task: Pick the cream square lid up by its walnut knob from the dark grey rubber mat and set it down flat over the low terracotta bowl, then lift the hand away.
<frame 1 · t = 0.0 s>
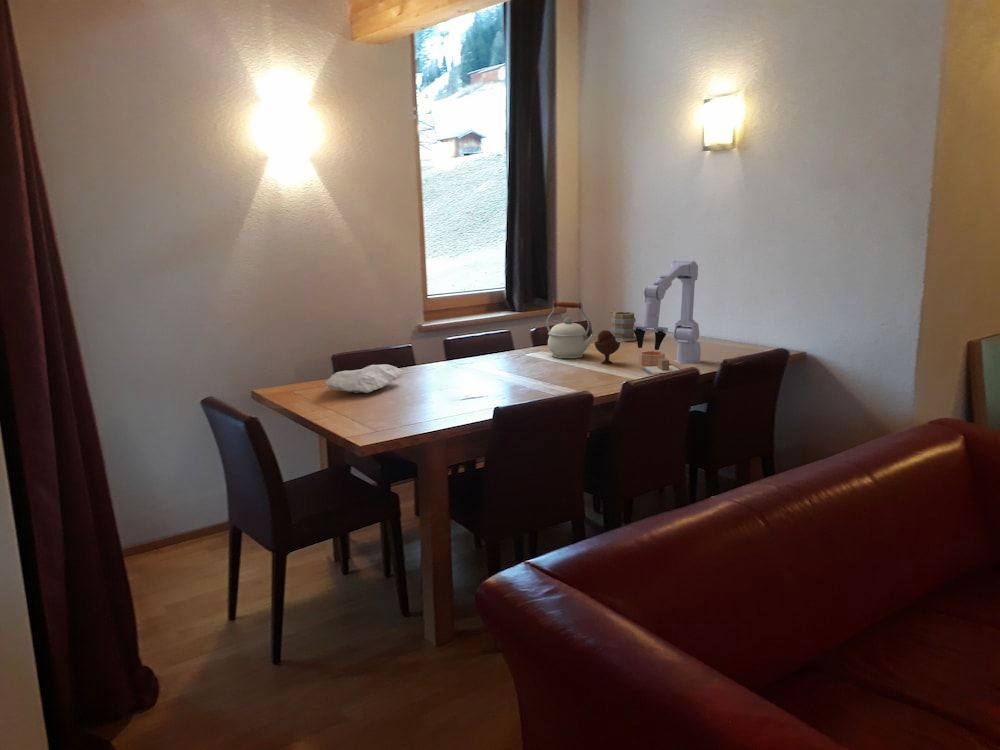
hand: (648, 349, 303), 11 cm above the table, tool pointing down, fingers open, 7 cm apart
crumpled cloth: (362, 390, 289), on the table
mat: (663, 371, 310), on the table
lid: (663, 370, 310), resting on mat
bowl: (651, 364, 324), on the table
kettle: (570, 356, 346), on the table
ice cream bowl: (607, 364, 327), on the table
tankard: (619, 339, 388), on the table
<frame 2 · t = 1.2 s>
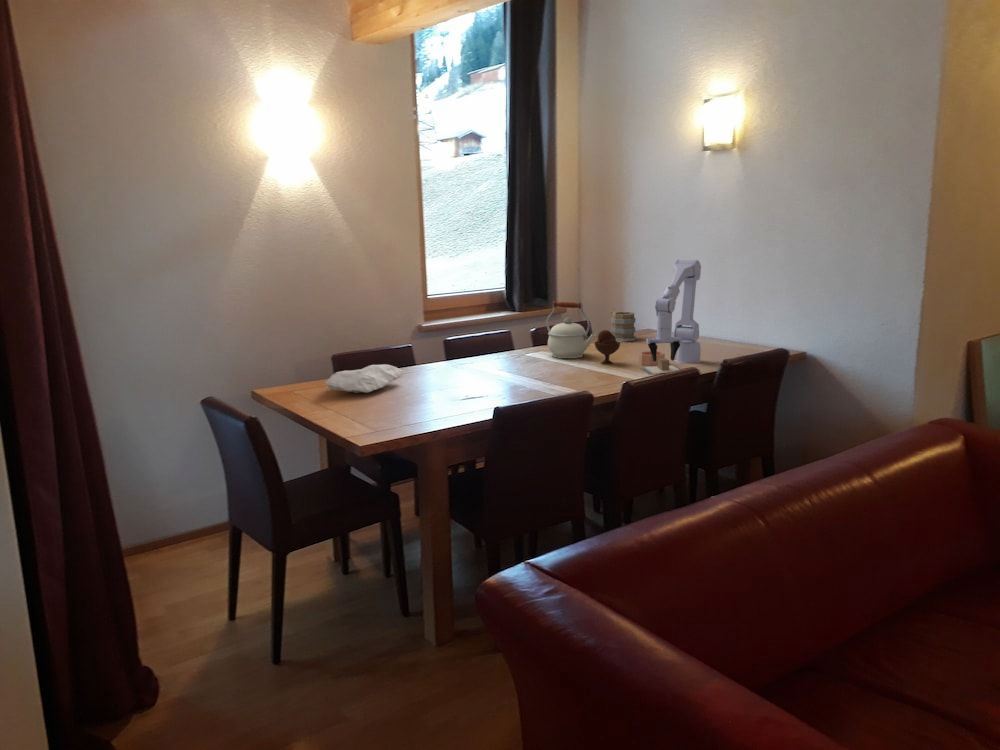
hand: (663, 360, 309), 5 cm above the table, tool pointing down, fingers open, 7 cm apart
nothing on the table moved.
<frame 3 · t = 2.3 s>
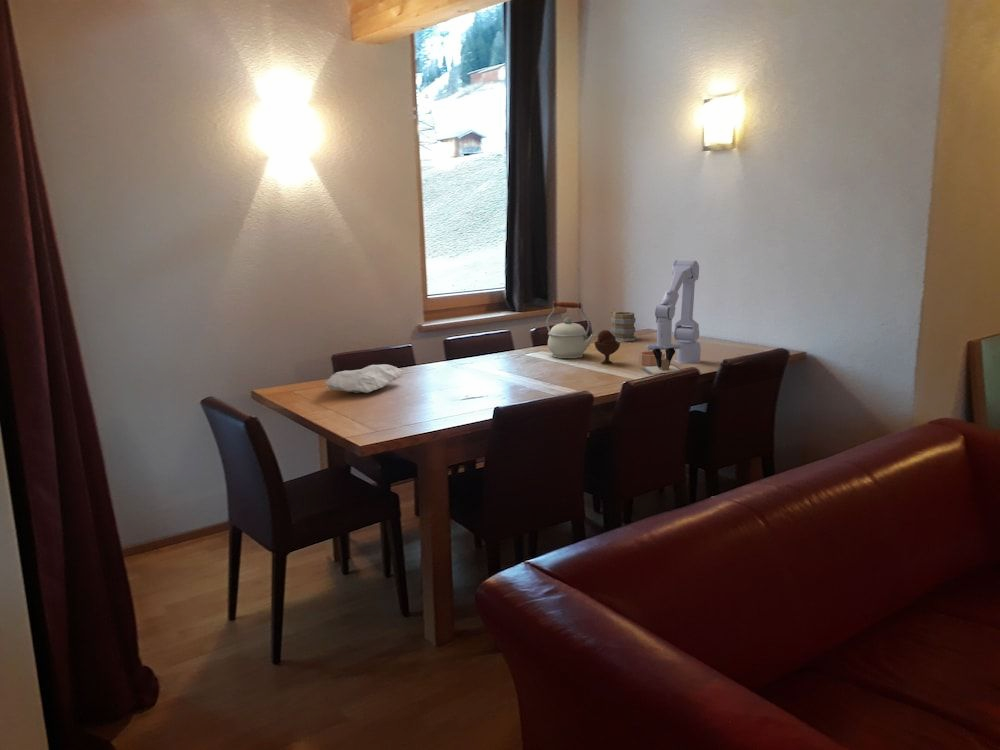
hand: (663, 366, 310), 2 cm above the table, tool pointing down, fingers closed on lid, 3 cm apart
lid: (663, 370, 310), resting on mat, touching gripper
everything else where it was.
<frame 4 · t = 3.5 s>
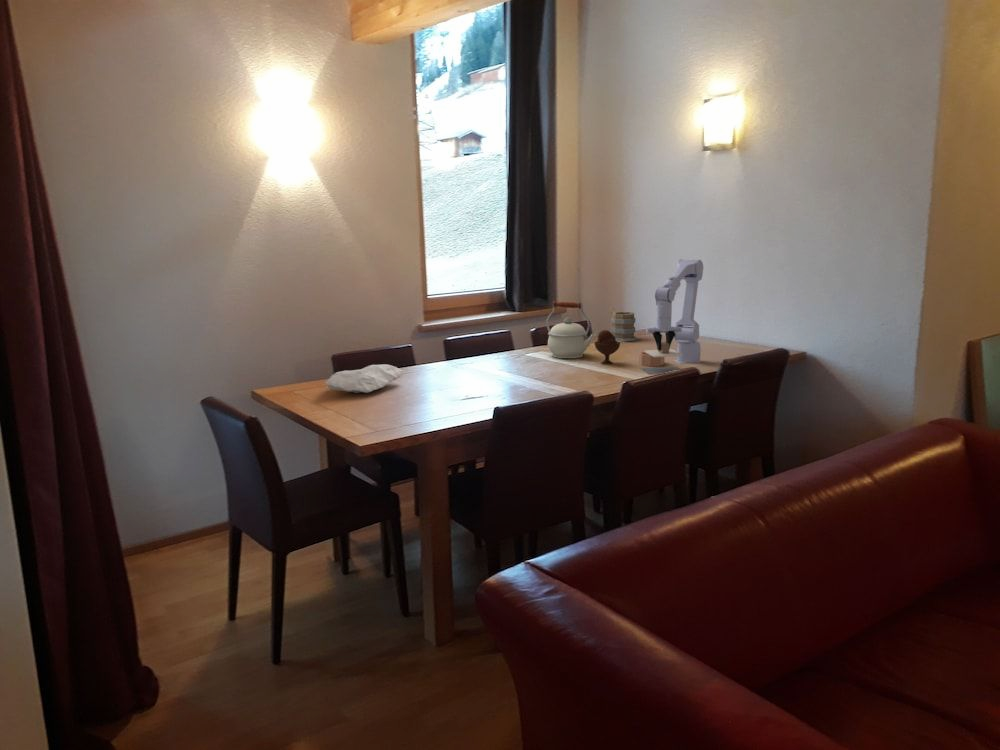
hand: (663, 349, 309), 9 cm above the table, tool pointing down, fingers closed on lid, 3 cm apart
lid: (663, 353, 309), point 7 cm above the table, touching gripper
everything else where it was.
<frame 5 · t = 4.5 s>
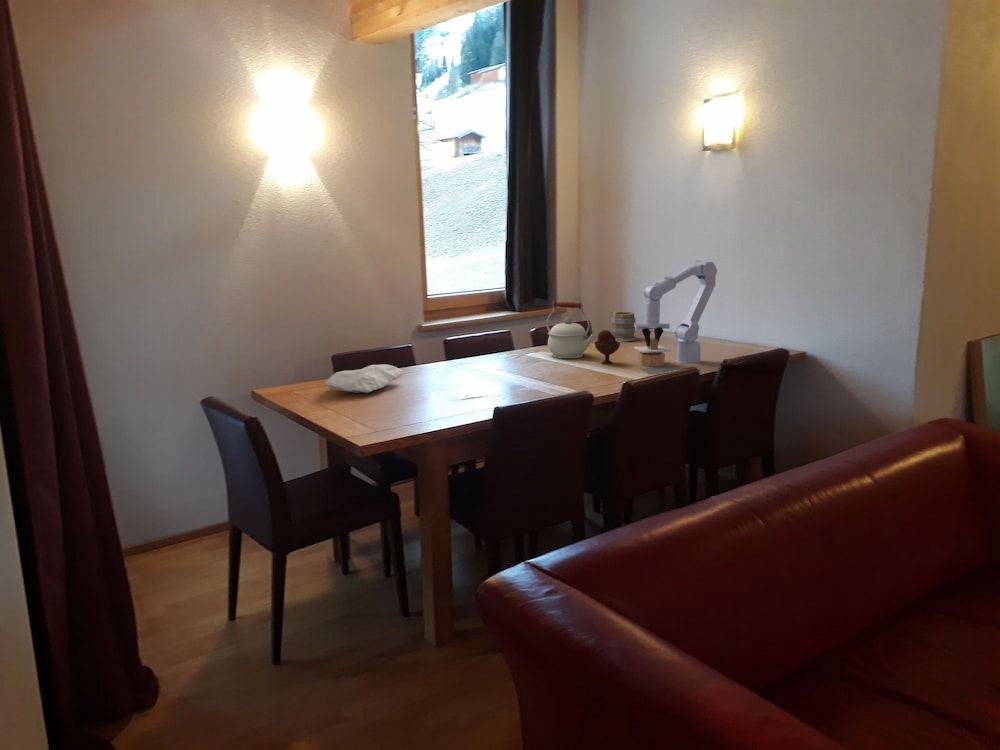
hand: (652, 345, 322), 8 cm above the table, tool pointing down, fingers closed on lid, 3 cm apart
lid: (652, 349, 322), point 7 cm above the table, touching gripper
everything else where it was.
when the fingers open (7 cm above the table, at t = 4.9 s): lid stays where it is, resting on bowl.
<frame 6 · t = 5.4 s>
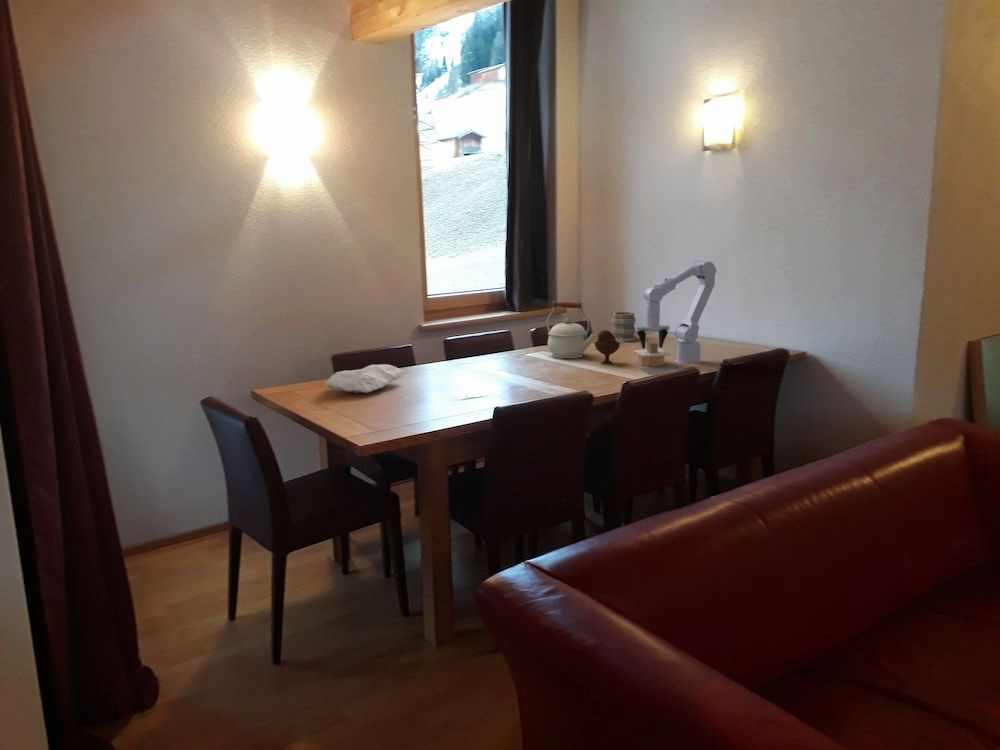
hand: (652, 347, 322), 7 cm above the table, tool pointing down, fingers open, 7 cm apart
lid: (652, 353, 323), point 5 cm above the table, touching bowl
everything else where it was.
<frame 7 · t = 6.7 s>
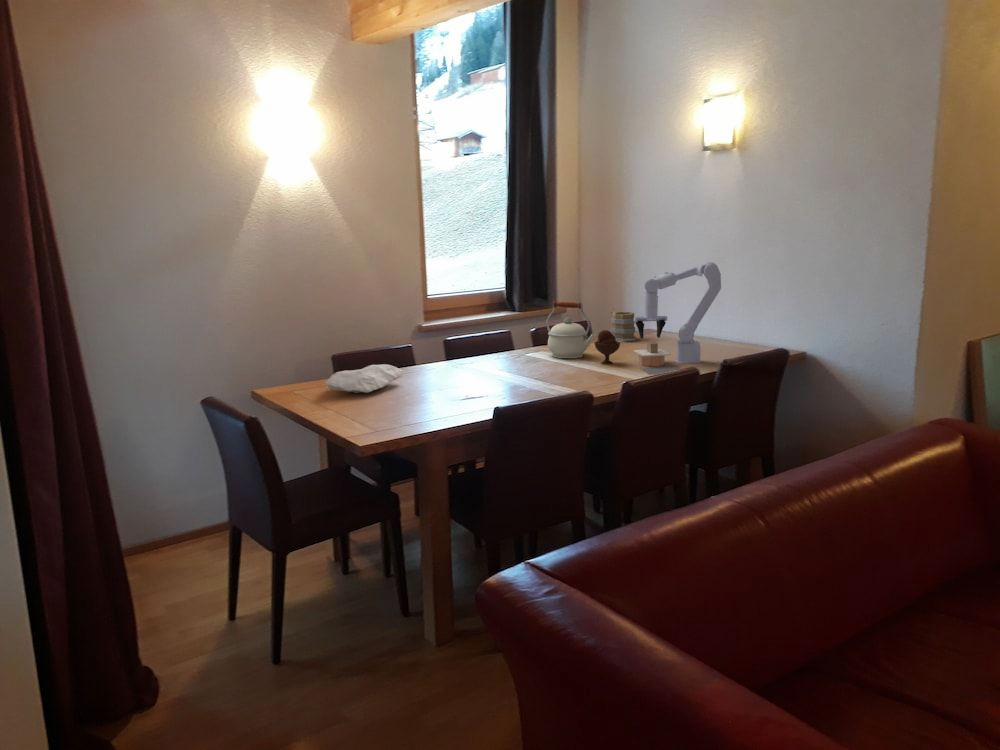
hand: (650, 337, 329), 10 cm above the table, tool pointing down, fingers open, 7 cm apart
nothing on the table moved.
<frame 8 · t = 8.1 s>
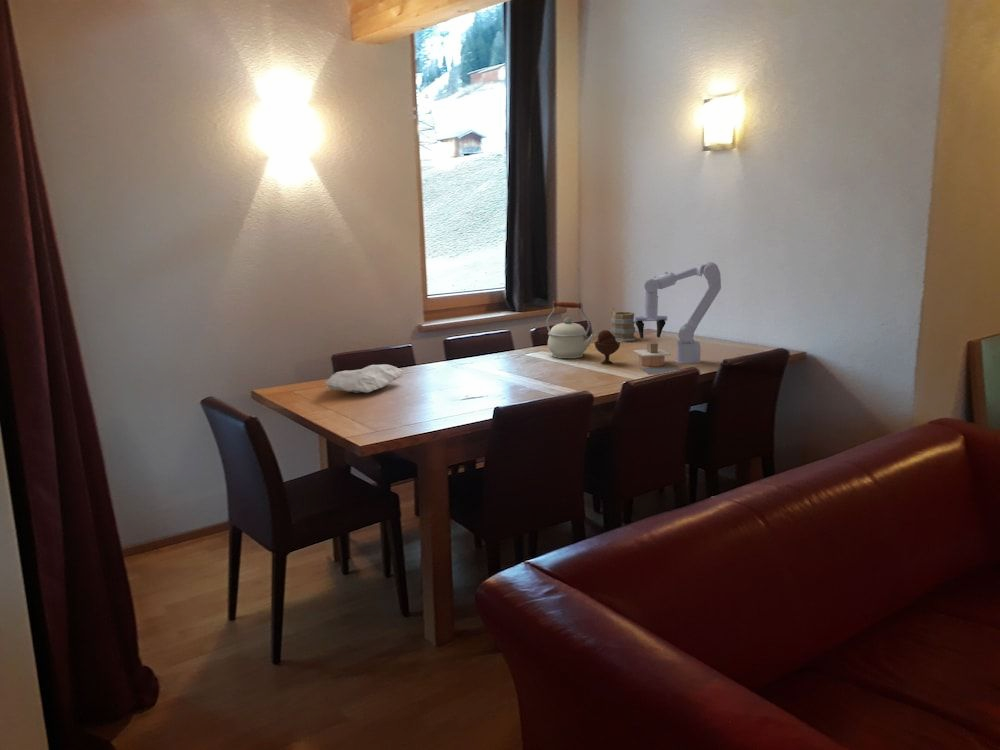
hand: (649, 337, 330), 10 cm above the table, tool pointing down, fingers open, 7 cm apart
nothing on the table moved.
at the end: lid 0.3 cm off-centre on the bowl, point 5.0 cm above the bowl's base; lid tilted 0°; the gripper is holding nothing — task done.
